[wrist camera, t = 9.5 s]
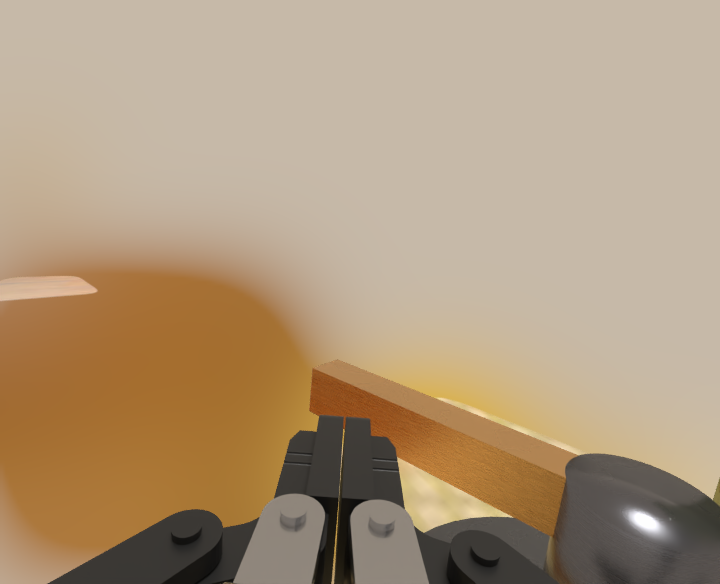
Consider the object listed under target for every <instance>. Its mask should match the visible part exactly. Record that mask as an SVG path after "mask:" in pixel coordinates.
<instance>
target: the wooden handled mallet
mask: <svg viewBox="0 0 720 584" xmlns="http://www.w3.org/2000/svg"><path fill="white" fill-rule="evenodd" d="M309 411H310V412H312V413H314V414H316V415H318V416H320V415H331V416H344V422H343V429H345V421H346V417H359V418H370V424H371V436H381V437H387V438H388V439H389V440H390V441H391V443H392V444H393V445H394V446H395V448H396V454H397V457H399V458H401V459H402V460H404V461H406V462H408V463H410V464H412V465H414V466H416V467H418V468H420V469H422V470H424V471H426V472H427V473H429V474H431V475H433V476H435V477H437V478H439V479H441V480H443V481H445V482H447V483H449V484H451V485H453V486H454V487H456V488H458V489H460V490H462V491H464V492H466V493H468V494H470V495H472V496H474V497H476V498H478V499H479V500H481V501H483V502H485V503H487V504H489V505H491V506H493V507H495V508H497V509H499V510H501V511H503V512H504V513H506V514H508V515H510V516H512V517H514V518H516V519H518V520H520V521H522V522H524V523H526V524H528V525H529V526H531V527H533V528H535V529H537V530H539V531H541V532H543V533H545V534H547V535H549V536H550V539H549V543H548V548H547V552H546V557H545V561H544V566H543V571H544V572H545V573H547V574H548V575H549V576H551V577H552V578H553V579H554V580H556V581H557V582H558V583H560V584H720V506H719V505H718V504H717V503H715V502H714V501H713V500H712V499H711V498H709V497H708V496H707V495H705V494H704V493H702V492H701V491H700V490H698V489H696V488H695V487H693V486H692V485H690V484H688V483H687V482H685V481H683V480H681V479H680V478H678V477H676V476H674V475H672V474H670V473H667V472H665V471H663V470H661V469H658V468H656V467H653V466H651V465H648V464H645V463H642V462H639V461H636V460H632V459H629V458H625V457H620V456H615V455H608V454H584V455H580V456H578V455H576V454H573V453H571V452H568V451H566V450H563V449H561V448H558V447H556V446H553V445H551V444H548V443H546V442H543V441H541V440H538V439H536V438H533V437H531V436H528V435H526V434H523V433H521V432H518V431H516V430H513V429H511V428H508V427H506V426H503V425H501V424H498V423H496V422H493V421H491V420H488V419H486V418H483V417H481V416H478V415H476V414H473V413H471V412H468V411H466V410H463V409H460V408H458V407H455V406H453V405H450V404H448V403H445V402H443V401H440V400H438V399H435V398H433V397H430V396H428V395H425V394H423V393H420V392H418V391H415V390H413V389H410V388H407V387H405V386H403V385H400V384H398V383H395V382H393V381H390V380H388V379H385V378H383V377H380V376H378V375H375V374H373V373H370V372H367V371H365V370H362V369H360V368H358V367H355V366H353V365H350V364H348V363H345V362H342V361H340V360H335V361H332V362H329V363H326V364H323V365H320V366H318V367H314V368H313V370H312V383H311V395H310V408H309Z"/></svg>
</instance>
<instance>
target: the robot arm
mask: <svg viewBox="0 0 720 584" xmlns="http://www.w3.org/2000/svg"><path fill="white" fill-rule="evenodd" d="M343 422H344V416H331V415H320V416H319V421H318V427H317V432H313V431H299V432H298V433H297V434H296V435H295V436H294V437H293V438H292V439H291V440H290V442H289V446H288V449H287V454H286V457H285V460H284V464H283V467H282V471H281V475H280V478H279V482H278V486H277V489H276V493H275V497H274V499H273V500H271V501H270V502H269V503H268V504H267V505H266V506H265V507H264V509H263V511H262V513H261V515H260V517H259V518H257V519H255V520H253V521H251V522H248V523H245V524H241V525H236V526H231V527H226V528H223V526H222V522H221V521H220V519H219V518H218V517H217V516H216V515H215V514H213V513H211V512H209V511H205V510H198V509H195V510H186V511H182V512H178V513H175V514H173V515H171V516H169V517H167V518H165V519H163V520H162V521H160V522H158V523H156V524H154V525H153V526H151V527H149V528H147V529H145V530H144V531H142V532H140V533H138V534H136V535H135V536H133V537H131V538H129V539H127V540H126V541H124V542H122V543H120V544H118V545H117V546H115V547H113V548H111V549H109V550H108V551H106V552H104V553H103V554H100V555H99V556H97V557H95V558H93V559H91V560H89V561H88V562H86V563H84V564H82V565H80V566H79V567H77V568H75V569H73V570H71V571H70V572H68V573H66V574H64V575H63V576H61V577H59V578H57V579H55V580H53V581H52V582H50V583H48V584H331V581H332V570H333V558H334V547H335V535H336V524H337V512H338V501H339V512H338V529H337V545H336V563H335V579H334V584H560V583H558V582H557V581H556V580H554V579H553V578H552V577H551V576H549V575H548V574H547V573H545V572H544V571H543V570H541V569H540V568H539V567H537V566H536V565H535V564H533V563H532V562H531V561H529V560H528V559H527V558H526V557H524V556H523V555H522V554H520V553H519V552H518V551H516V550H515V549H514V548H512V547H511V546H510V545H508V544H507V543H506V542H504V541H503V540H502V539H500V538H499V537H497V536H495V535H493V534H490V533H488V532H484V531H479V530H466V531H463V532H460V533H458V534H457V535H456V536H455V537H454V538H453V539H452V541H451V543H448V542H445V541H442V540H439V539H436V538H433V537H430V536H428V535H426V534H424V533H423V532H421V531H420V530H418V529H417V528H416V527H415V526H414V525H413V521H412V519H411V517H410V515H409V514H408V513H407V511H406V510H405V508H404V501H403V494H402V487H401V481H400V474H399V467H398V462H397V454H396V448H395V446H394V445H393V444H392V443H391V441H390V440H389V439H388V438H387V437H381V436H371V424H370V418H359V417H346V421H345V433H344V444H343V455H342V467H341V454H342V438H343ZM340 470H341V480H340ZM339 486H340V496H339Z"/></svg>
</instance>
